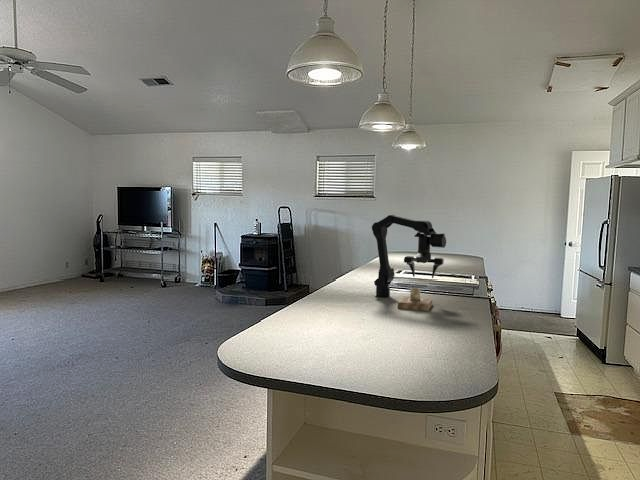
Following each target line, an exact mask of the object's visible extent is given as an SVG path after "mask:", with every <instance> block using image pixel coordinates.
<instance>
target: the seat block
mask: <svg viewBox="0 0 640 480" xmlns="http://www.w3.org/2000/svg"><path fill="white" fill-rule="evenodd" d="M432 305H433V298H429V297H420V301H419V302H417V301H411V300H410V296H405V295H404V296H402V297H401V298H400V300H398V301H397V309H399V310H400V309H402V310H410V311H422V312H429V310H430V309H431V307H432Z"/></svg>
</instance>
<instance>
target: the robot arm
mask: <svg viewBox="0 0 640 480" xmlns="http://www.w3.org/2000/svg"><path fill="white" fill-rule="evenodd" d="M393 224H395V225H399V226H403V227H407V228H411V229H412V230H414V231H416V232H417V233H416V234H415V235H414V238H418V241H417V243H418V244H417V252H416V255H415V256H414V255H413V256H412V255H406V256H405V257H404V259H403V263H404V264H405V263H406V265H408V266H409V268H410V271H411V273H412V277H413V278H415V275H416V272H415V269H416V268H415V267H416V266H415V262H416V263H418V264H419V263H422V264H426V263H433V266H432V274H431V278H432V279H434V276H435V274H436V272H437V269H438V267H440V266H442V265H444V263H445V261H444V260H445V258H443V257H434V258H432V253H431V247H432V248H440V249H441V248H443V249H444V248H446V245H447V239H446V238H447V237H446V235H445V233H437V232H436V231H435V229H434V228H433V224H432V223H431V221H429V220H416V219H415V220H414V219H410V218H406V217H402V216H397V215H395V214H389V215H387V216H386V217H384V218H383V219H381V220H379V221H376V222H374V223H372V225H371V231H372V234H373V236H374V238H375V239H376V246H377V252H378V253H377V254H378V261H379V270H378V277H377V278H376V279H375V280H374V286H376V287H375V288H376V289H375V298H387V299H388V298H389V297H390V295H391V288H390V285H391V284H392V281H393V280H394V279H395V268H393V267H391V266H390V261H389V253H388V252H389V251H388V247H387V246H388V245H387V240H386V238H387V235H388V228H390V227H391V226H393Z"/></svg>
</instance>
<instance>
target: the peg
mask: <svg viewBox="0 0 640 480" xmlns="http://www.w3.org/2000/svg"><path fill="white" fill-rule="evenodd" d="M409 293H410V296H409V297H410V300H411V301H417V302H419V301H420V298H421V288H418V287H414V288H413V287H411V288H410V292H409Z"/></svg>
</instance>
